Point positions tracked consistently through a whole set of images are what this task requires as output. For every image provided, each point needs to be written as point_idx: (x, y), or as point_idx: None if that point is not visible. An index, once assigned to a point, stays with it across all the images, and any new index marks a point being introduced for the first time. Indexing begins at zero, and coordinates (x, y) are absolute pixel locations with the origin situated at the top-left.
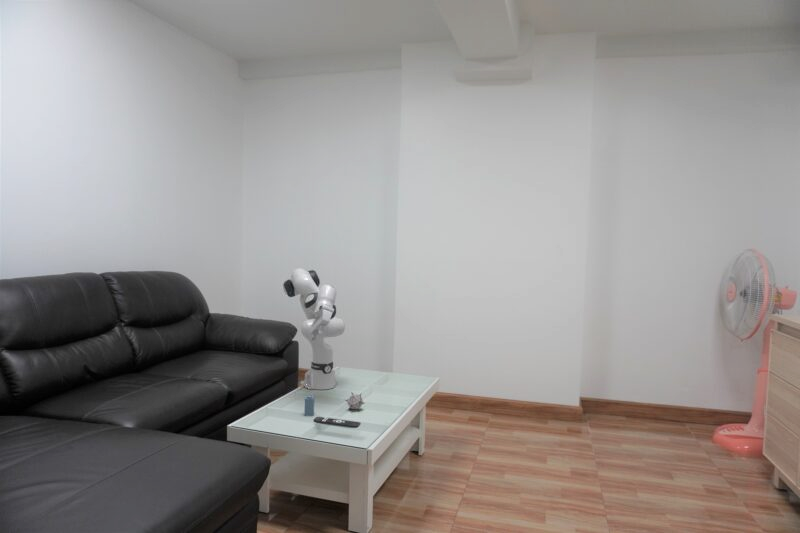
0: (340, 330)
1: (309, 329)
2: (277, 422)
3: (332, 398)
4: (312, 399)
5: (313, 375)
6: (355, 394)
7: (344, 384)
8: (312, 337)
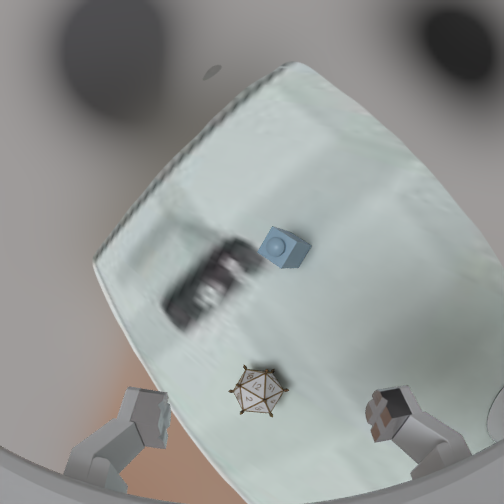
0: None
1: None
2: (272, 148)
3: None
4: (259, 249)
5: None
6: (254, 403)
7: None
8: (392, 407)
